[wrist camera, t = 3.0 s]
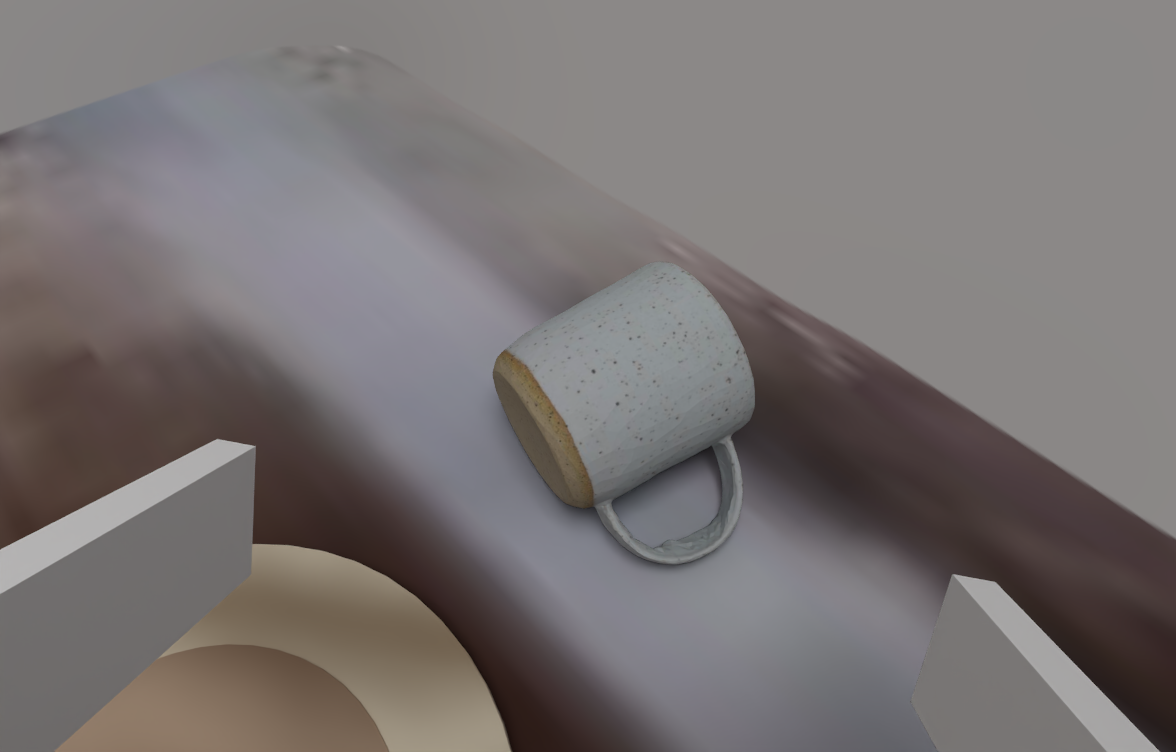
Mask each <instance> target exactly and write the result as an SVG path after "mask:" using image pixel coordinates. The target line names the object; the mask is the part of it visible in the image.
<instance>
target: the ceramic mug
mask: <svg viewBox="0 0 1176 752" xmlns="http://www.w3.org/2000/svg"><path fill="white" fill-rule="evenodd" d="M493 379H494V383H495V388H496V391H497V394H498V396H499V399H500V401H501V404H502V406H503V408H504V411H505V413H506V415H507V417H508V419H509V421H510V423H511V425H512V427H513V429H514V431H515V433H516V435H517V437H518V438H519V440H520V442H521V444H522V446H523V447H524V449H525V451H526V453H527V454H528V456H529V458H530V459H531V461H532V462H533V464H534V466H535V467H536V469H537V470H538V472H539V473H540V475H541V476H542V477H543V479H544V480H545V482H546V483H547V484H548V486H549V487H550V488H551V489H552V491H553V492H554V493H555V494H556V495H557V496H558V497H559V498H560V499H561V500H562V501H563V502H564V503H566V504H568V505H571V506H574V507H579V508H589V507H595V508H596V510H597V512H598V515H599V516H600V518H601V521H602V523H603V524H604V526H605V527H606V529H607V530H608V531H609V532H610V533H611V534H612V535H613V536H614V537H615V539H616V540H617V541H618V542H619V543H620V544H621V545H622V546H623V547H624V548H626V549H627V550H629V551H630V552H632V553H634V554H635V555H637V556H639V557H641V558H643V559H645V560H649V561H653V562H656V563H661V564H681V563H687V562H691V561H693V560H696V559H699V558H701V557H703V556H705V555H707V554H709V553H711V552H712V551H714V550H716V549H717V548H718V547H719V546H720V545H721V544H722V543H723V542H724V541H726V540H727V539H728V538H729V536H730V535H731V533H732V532H733V530H734V528H735V527H736V524H737V521H738V519H739V515H740V511H741V506H742V501H743V483H742V474H741V468H740V465H739V461H738V457H737V453H736V451H735V448H734V444H733V442H732V440H731V436H732V434H733V433H734V432H736V431H737V430H739V429H740V428H742V427H743V426H744V425H745V424H746V423H747V422H749V420H750V418H751V416H752V413H753V410H754V407H755V389H754V379H753V376H752V372H751V368H750V365H749V361H748V358H747V356H746V352H745V350H744V348H743V346H742V343H741V341H740V339H739V337H738V335H737V333H736V331H735V329H734V327H733V325H732V324H731V322H730V320H729V318H728V316H727V315H726V313H725V312H724V311H723V309H722V308H721V306H720V305H719V303H718V302H717V301H716V300H715V298H714V297H713V296H712V294H711V293H710V292H709V291H708V290H707V289H706V288H705V286H704V285H703V284H701V283H700V282H699V281H698V280H697V279H696V278H695V277H694V276H692V275H691V274H690V273H688V272H687V271H685V270H683V269H682V268H680V267H679V266H677V265H675V264H672V263H669V262H654V263H650V264H647V265H645V266H643V267H642V268H640V269H638V270H636V271H635V272H633V273H631V274H630V275H628V276H626V277H625V278H623V279H621V280H619V281H618V282H616V283H614V284H612V285H610V286H609V287H607V288H605V289H603V290H601V291H599V292H598V293H596V294H594V295H592V296H591V297H589V298H587V299H585V300H583V301H582V302H580V303H578V304H577V305H575V306H573V307H572V308H570V309H568V310H567V311H565V312H563V313H561V314H559V315H557V316H555V317H553V318H552V319H550V320H548V321H546V322H544V323H542V324H540V325H539V326H537V327H535V328H533V329H532V330H530V331H528V332H527V333H525V334H524V335H522V336H521V337H520V338H519V339H517V340H516V341H515V342H514V343H513V344H511V345H510V346H509V347H508V348H506V349H505V350H504V351H503V352H502V353H501V354H500V355H499V356H498V358H497V359H496V362H495V365H494V370H493ZM711 445H712V447H713V449H714V452H715V455H716V457H717V460H718V464H719V469H720V473H721V481H722V489H723V490H722V500H721V506H720V510H719V513H718V515H717V517H716V518H715V519H714V520H713V521H712V522H711V524H710V525H709V526H707V527H705V528H703V529H701V530H699V531H697V532H695V533H693V534H692V535H690V536H688V537H685V538H683V539H680V540H677V541H673V540H667V541H666V542H665V543H663V544H662V547H656V548H654V549H652V548H650V547H648V546H647V545H645V544H643V543H641V542H640V541H638V540H636V539H634V538H633V537H632V535H631V534H630V532H629V531H628V530H627V529H626V528H625V526H624V525H623V524H622V523H621V521H620V520H619V518H618V516H617V514H616V513H615V511H614V510H613V508H612V504H611V503H612V500H614V499H616V498H617V497H619V496H621V495H623V494H625V493H626V492H628V491H630V490H632V489H633V488H635V487H637V486H639V485H640V484H642V483H644V482H646V481H648V480H650V479H651V478H652V477H653V476H655V475H656V474H658V473H660V472H662V471H664V470H666V469H668V468H670V467H671V466H673V465H675V464H678V463H680V462H682V461H684V460H686V459H687V458H689V457H691V456H693V455H695V454H697V453H698V452H700V451H702V450H704V449H706V448H708V447H710V446H711Z"/></svg>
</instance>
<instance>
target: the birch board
mask: <svg viewBox="0 0 1176 752" xmlns="http://www.w3.org/2000/svg"><path fill="white" fill-rule="evenodd" d="M54 752H512V748H511V745H510V741H509V737H508V734H507V730H506V727H505V724H504V722H503V719H502V717H501V715H500V712H499V710H498V708H497V705H496V703H495V701H494V698H493V696H492V694H491V691H490V689H489V687H488V685H487V684H486V682H485V680H484V679H483V677H482V675H481V674H480V672H479V670H478V669H477V667H476V665H475V664H474V662H473V660H472V659H471V657H470V656H469V654H468V653H467V652H466V650H465V649H464V648H463V647H462V645H461V644H460V643H459V642H458V640H457V639H456V638H455V637H454V635H453V634H452V633H451V632H450V630H449V629H448V628H447V627H446V625H445V624H444V623H443V622H442V620H441V619H439V618H438V617H437V616H436V615H435V614H434V613H433V612H432V611H431V610H430V609H429V608H428V607H427V606H426V605H424V604H423V603H422V602H421V601H420V600H419V599H418V598H417V597H416V596H414V595H413V594H412V593H410V592H409V591H407V590H406V589H404V588H403V587H401V586H400V585H399V584H397V583H396V582H394V581H393V580H391V579H390V578H388V577H387V576H385V575H383V574H381V573H379V572H377V571H375V570H372V569H370V568H368V567H366V566H364V565H362V564H360V563H358V562H356V561H353V560H350V559H347V558H343V557H340V556H337V555H334V554H331V553H328V552H325V551H320V550H314V549H308V548H302V547H296V546H290V545H267V544H252V563H251V575H250V576H249V577H248V578H247V579H246V580H244V581H243V582H242V583H241V584H240V585H239V586H238V587H237V588H236V589H234V590H233V591H232V592H231V593H230V594H229V595H228V596H227V597H226V598H224V599H223V600H222V601H221V602H220V603H219V604H218V605H217V606H215V607H214V608H213V609H212V610H211V611H210V612H209V613H208V614H207V615H205V616H204V617H203V618H202V619H201V620H200V621H199V622H198V623H197V624H195V625H194V626H193V627H192V628H191V629H190V630H189V631H188V632H187V633H185V634H184V635H183V636H182V637H181V638H180V639H179V640H178V641H176V642H175V643H174V644H173V645H172V646H171V647H170V648H169V649H168V650H166V651H165V652H164V653H163V654H162V655H161V656H160V657H159V658H158V659H156V660H155V661H154V662H153V663H152V664H151V665H150V666H149V667H148V668H146V669H145V670H144V671H143V672H142V673H141V674H140V675H139V676H137V677H136V678H135V679H134V680H133V681H132V682H131V683H130V684H129V685H127V686H126V687H125V688H124V689H123V690H122V691H121V692H120V693H119V694H117V695H116V696H115V697H114V698H113V699H112V700H111V701H110V702H109V703H107V704H106V705H105V706H104V707H103V708H102V709H101V710H100V711H99V712H97V713H96V714H95V715H94V716H93V717H92V718H91V719H90V720H88V721H87V722H86V723H85V724H84V725H83V726H82V727H81V728H80V729H78V730H77V731H76V732H75V733H74V734H73V735H72V736H71V737H70V738H68V739H67V740H66V741H65V742H64V743H63V744H62V745H61V746H60V747H58V748H57V749H56V750H55V751H54Z"/></svg>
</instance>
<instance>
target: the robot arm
mask: <svg viewBox="0 0 1176 752" xmlns="http://www.w3.org/2000/svg"><path fill="white" fill-rule="evenodd" d="M255 450H256V446H251V445H246V444H240V443H235V442H230V441H224V440H219V439H216V440H214V441H213V442H211V443H209V444H207V445H205V446H203V447H201V448H199V449H197V450H195V451H193V452H191V453H189V454H187V455H185V456H183V457H181V458H179V459H177V460H175V461H173V462H171V463H169V464H167V465H165V466H164V467H162V468H160V469H158V470H156V471H154V472H152V473H150V474H148V475H146V476H144V477H142V478H140V479H138V480H136V481H134V482H132V483H130V484H128V485H126V486H124V487H122V488H120V489H118V490H116V491H114V492H113V493H111V494H109V495H107V496H105V497H103V498H101V499H99V500H97V501H95V502H93V503H91V504H89V505H87V506H85V507H83V508H81V509H79V510H77V511H75V512H73V513H71V514H69V515H67V516H65V517H64V518H62V519H60V520H58V521H56V522H54V523H52V524H50V525H48V526H46V527H44V528H42V529H40V530H38V531H36V532H34V533H32V534H30V535H28V536H26V537H24V538H22V539H20V540H18V541H16V542H14V543H13V544H11V545H9V546H7V547H5V548H3V549H1V550H0V752H54V751H55V750H56V749H57V748H58V747H60V746H61V745H62V744H63V743H64V742H65V741H66V740H67V739H68V738H70V737H71V736H72V735H73V734H74V733H75V732H76V731H77V730H78V729H80V728H81V727H82V726H83V725H84V724H85V723H86V722H87V721H88V720H90V719H91V718H92V717H93V716H94V715H95V714H96V713H97V712H99V711H100V710H101V709H102V708H103V707H104V706H105V705H106V704H107V703H109V702H110V701H111V700H112V699H113V698H114V697H115V696H116V695H117V694H119V693H120V692H121V691H122V690H123V689H124V688H125V687H126V686H127V685H129V684H130V683H131V682H132V681H133V680H134V679H135V678H136V677H137V676H139V675H140V674H141V673H142V672H143V671H144V670H145V669H146V668H148V667H149V666H150V665H151V664H152V663H153V662H154V661H155V660H156V659H158V658H159V657H160V656H161V655H162V654H163V653H164V652H165V651H166V650H168V649H169V648H170V647H171V646H172V645H173V644H174V643H175V642H176V641H178V640H179V639H180V638H181V637H182V636H183V635H184V634H185V633H187V632H188V631H189V630H190V629H191V628H192V627H193V626H194V625H195V624H197V623H198V622H199V621H200V620H201V619H202V618H203V617H204V616H205V615H207V614H208V613H209V612H210V611H211V610H212V609H213V608H214V607H215V606H217V605H218V604H219V603H220V602H221V601H222V600H223V599H224V598H226V597H227V596H228V595H229V594H230V593H231V592H232V591H233V590H234V589H236V588H237V587H238V586H239V585H240V584H241V583H242V582H243V581H244V580H246V579H247V578H248V577H249V576H250V575H251V563H252V535H253V506H254V478H255ZM911 703H912V705H913V707H914V709H915V711H916V713H917V714H918V716H919V718H920V720H921V722H922V723H923V725H924V727H925V729H926V731H927V732H928V734H929V736H930V738H931V740H932V742H933V743H934V745H935V747H936V749H937V751H938V752H1160V751H1159V750H1158V749H1157V748H1156V747H1155V746H1154V745H1153V744H1152V743H1151V742H1150V741H1149V740H1148V739H1147V738H1146V737H1145V736H1144V735H1143V734H1142V733H1141V732H1140V731H1139V730H1138V729H1137V728H1136V727H1135V726H1134V725H1133V724H1132V723H1131V722H1130V720H1129V719H1128V718H1127V717H1126V716H1125V715H1124V714H1123V713H1122V712H1121V711H1120V710H1119V709H1118V708H1117V707H1116V706H1115V705H1114V704H1113V703H1112V702H1111V701H1110V700H1109V699H1108V698H1107V697H1106V696H1105V695H1104V694H1103V693H1102V692H1101V691H1100V690H1099V689H1098V687H1097V686H1096V685H1095V684H1094V683H1093V682H1092V681H1091V680H1090V679H1089V678H1088V677H1087V676H1086V675H1085V674H1084V673H1083V672H1082V671H1081V670H1080V669H1079V668H1078V667H1077V666H1076V665H1075V664H1074V663H1073V662H1072V661H1071V660H1070V659H1069V658H1068V657H1067V656H1066V654H1065V653H1064V652H1063V651H1062V650H1061V649H1060V648H1059V647H1058V646H1057V645H1056V644H1055V643H1054V642H1053V641H1052V640H1051V639H1050V638H1049V637H1048V636H1047V635H1046V634H1045V633H1044V632H1043V631H1042V630H1041V629H1040V628H1039V627H1038V626H1037V625H1036V624H1035V623H1034V621H1033V620H1032V619H1031V618H1030V617H1029V616H1028V615H1027V614H1026V613H1025V612H1024V611H1023V610H1022V609H1021V608H1020V607H1019V606H1018V605H1017V604H1016V603H1015V602H1014V601H1013V600H1012V599H1011V598H1010V597H1009V596H1008V595H1007V594H1006V593H1005V592H1004V591H1003V590H1002V588H1001V587H1000V586H999V585H998V584H997V583H996V582H992V581H987V580H981V579H976V578H970V577H965V576H960V575H954V574H952V577H951V580H950V583H949V586H948V589H947V592H946V595H945V598H944V601H943V604H942V607H941V610H940V614H939V617H938V620H937V623H936V626H935V629H934V632H933V635H932V638H931V641H930V644H929V647H928V650H927V653H926V656H925V659H924V662H923V665H922V668H921V671H920V674H919V677H918V680H917V684H916V687H915V690H914V693H913V696H912V699H911Z"/></svg>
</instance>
